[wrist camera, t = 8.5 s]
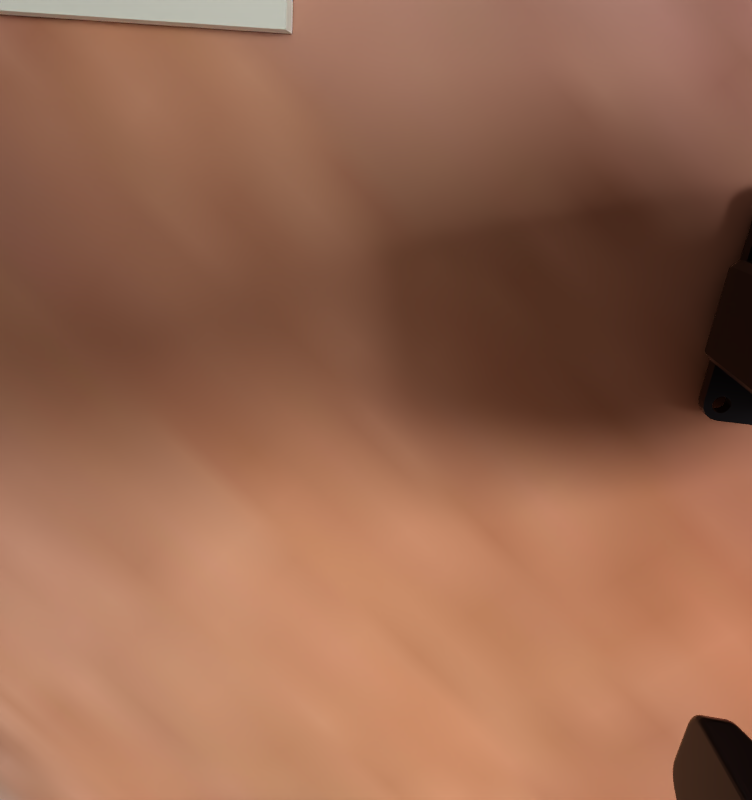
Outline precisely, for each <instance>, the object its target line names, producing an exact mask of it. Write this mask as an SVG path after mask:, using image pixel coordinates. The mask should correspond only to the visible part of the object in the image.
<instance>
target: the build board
mask: <svg viewBox="0 0 752 800" xmlns="http://www.w3.org/2000/svg"><path fill="white" fill-rule="evenodd" d="M0 14H3V15H18V16H33V17H48V18H63V19H77V20H92V21H107V22H122V23H137V24H151V25H166V26H181V27H196V28H211V29H225V30H240V31H255V32H270V33H285V34H292V17H293V0H0Z"/></svg>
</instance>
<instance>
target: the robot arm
mask: <svg viewBox="0 0 752 800" xmlns="http://www.w3.org/2000/svg"><path fill="white" fill-rule="evenodd" d="M705 353H706V354H707V356H708V357H709V359H710V362H709V366H708V369H707V372H706V376H705V379H704V382H703V386H702V389H701V392H700V396H699V403H698V404H699V407H700V409H701V410H702V411H703V412H704V413H705V414H706V415H707V416H708V417H709V418H710V419H713V420H717V421H725V422H733V423H741V424H750V425H752V223H751V226H750V229H749V233H748V236H747V239H746V243H745V246H744V249H743V253H742V256H741V259H740V260H739V261H738V262H736V263H735V264H734V265H732V266H731V267H730V268H729V271H728V274H727V278H726V281H725V284H724V288H723V291H722V294H721V298H720V301H719V305H718V308H717V311H716V315H715V318H714V322H713V325H712V328H711V332H710V335H709V339H708V342H707V345H706V349H705ZM719 397H725V402H724V404H723V405H722V406H720V407H718V408H713V407H712V403H713V402H714V400H715V399H717V398H719ZM673 782H674V789H675V794H676V799H677V800H752V740H751V739H750V738H749V737H748V736H747V735H746V734H745V733H744V732H743V731H742V730H741V729H740V728H739V727H738V726H737V725H735V724H734V723H733V722H731V721H729V720H726V719H720V718H714V717H708V716H703V715H696V716H694V717H693V718H692V719H691V720H690V722H689V723H688V726H687V729H686V731H685V734H684V737H683V739H682V742H681V744H680V747H679V750H678V752H677V755H676V758H675V761H674V765H673Z"/></svg>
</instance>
